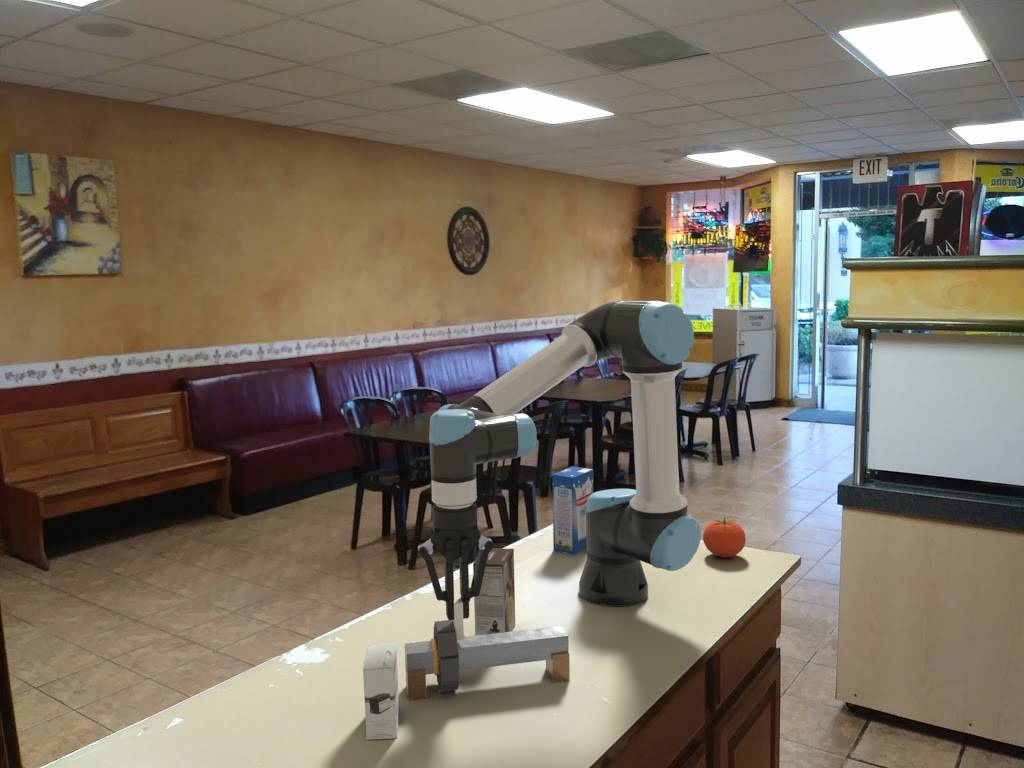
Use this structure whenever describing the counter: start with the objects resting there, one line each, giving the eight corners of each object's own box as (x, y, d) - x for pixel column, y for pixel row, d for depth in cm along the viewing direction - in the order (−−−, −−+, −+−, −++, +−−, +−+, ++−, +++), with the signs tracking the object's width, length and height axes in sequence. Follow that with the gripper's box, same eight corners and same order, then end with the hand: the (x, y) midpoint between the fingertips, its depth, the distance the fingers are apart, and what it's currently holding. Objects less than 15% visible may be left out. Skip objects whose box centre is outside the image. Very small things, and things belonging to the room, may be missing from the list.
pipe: (561, 666, 145) (561, 623, 144) (569, 680, 140) (569, 635, 139) (406, 685, 139) (404, 641, 138) (408, 700, 134) (406, 654, 133)
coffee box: (485, 621, 164) (483, 546, 162) (516, 624, 163) (514, 548, 161) (474, 642, 155) (472, 562, 153) (506, 644, 154) (505, 564, 152)
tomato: (695, 551, 203) (696, 513, 201) (732, 547, 205) (733, 509, 204) (715, 565, 193) (715, 525, 192) (753, 561, 195) (754, 521, 194)
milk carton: (573, 539, 214) (572, 466, 211) (593, 543, 210) (593, 469, 207) (553, 550, 205) (552, 474, 203) (574, 555, 202) (573, 477, 199)
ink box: (369, 711, 132) (366, 643, 130) (400, 709, 132) (397, 641, 130) (364, 741, 123) (361, 669, 121) (397, 739, 123) (394, 667, 122)
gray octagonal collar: (451, 668, 144) (449, 611, 142) (460, 699, 133) (458, 638, 132) (434, 670, 143) (432, 613, 142) (442, 702, 133) (440, 640, 131)
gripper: (488, 493, 139) (491, 623, 142) (413, 499, 136) (418, 631, 140) (496, 505, 132) (500, 641, 135) (417, 512, 129) (422, 650, 132)
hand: (458, 636), depth 137 cm, fingers closed
